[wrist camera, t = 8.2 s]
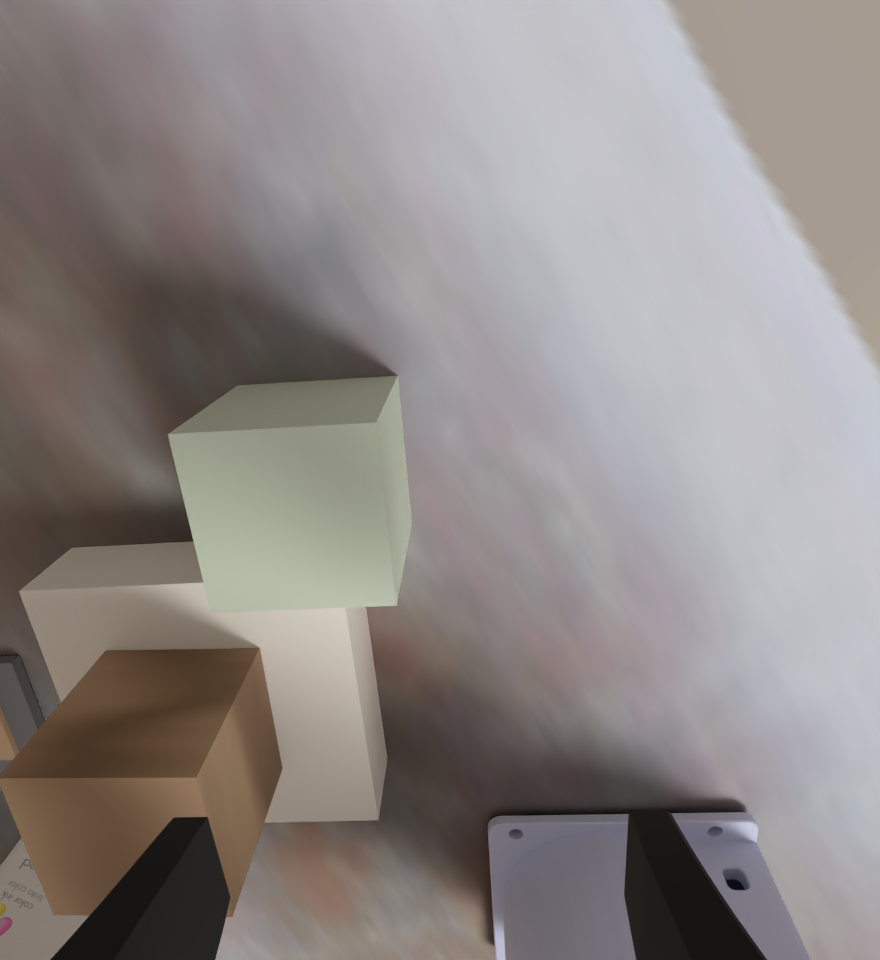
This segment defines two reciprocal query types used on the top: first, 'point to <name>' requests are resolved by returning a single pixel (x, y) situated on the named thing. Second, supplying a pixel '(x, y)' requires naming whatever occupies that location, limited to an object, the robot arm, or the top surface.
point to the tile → (16, 709)
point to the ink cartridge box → (29, 913)
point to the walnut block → (145, 768)
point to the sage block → (298, 494)
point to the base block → (190, 625)
